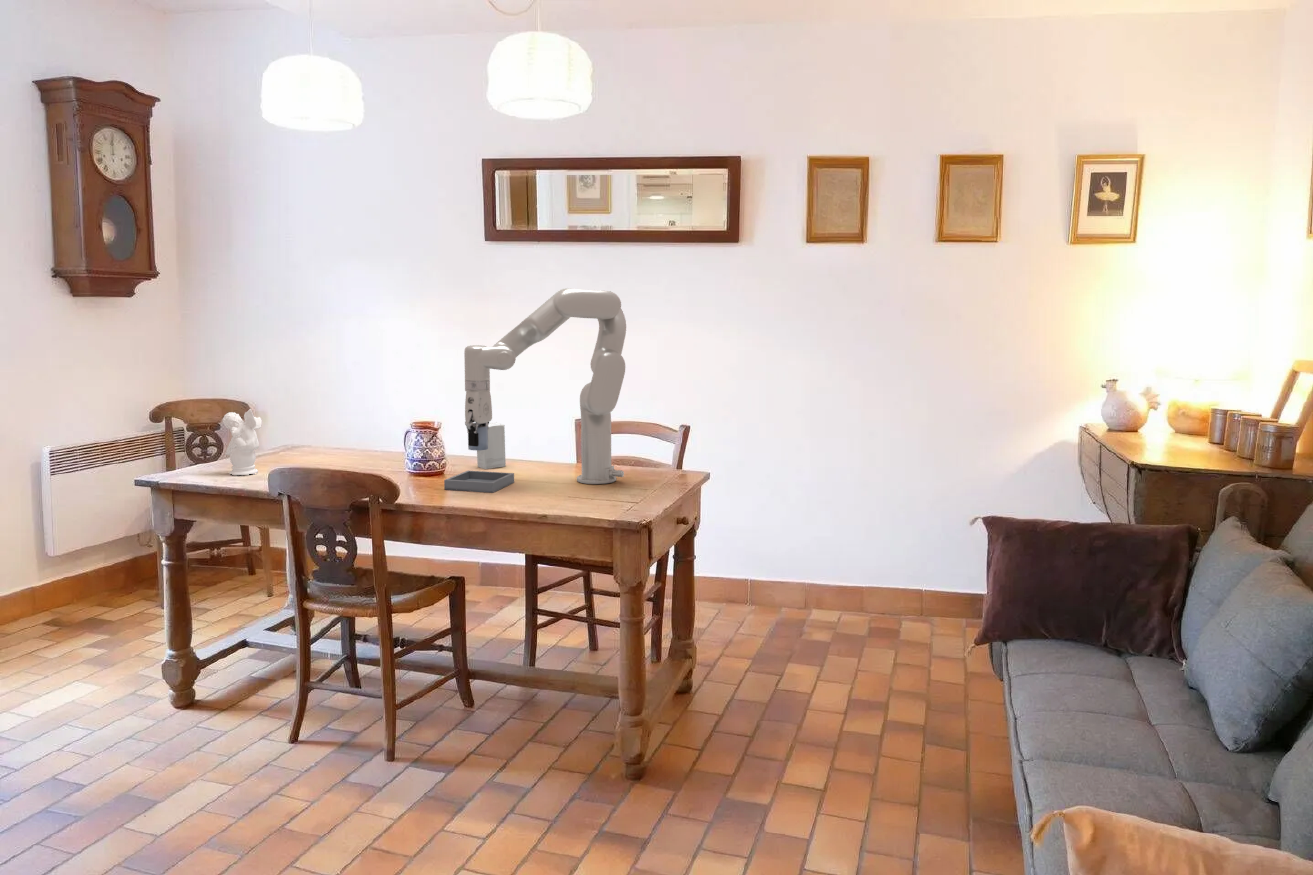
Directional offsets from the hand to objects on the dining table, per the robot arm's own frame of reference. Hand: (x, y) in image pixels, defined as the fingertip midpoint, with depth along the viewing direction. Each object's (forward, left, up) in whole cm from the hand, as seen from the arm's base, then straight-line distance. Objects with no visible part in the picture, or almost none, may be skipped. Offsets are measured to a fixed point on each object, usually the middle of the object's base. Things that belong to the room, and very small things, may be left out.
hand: (478, 443), depth 299 cm
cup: (0, 0, -2) cm, 2 cm away
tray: (0, 0, -13) cm, 13 cm away
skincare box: (+10, -30, -14) cm, 34 cm away
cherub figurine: (+82, +2, -14) cm, 83 cm away
